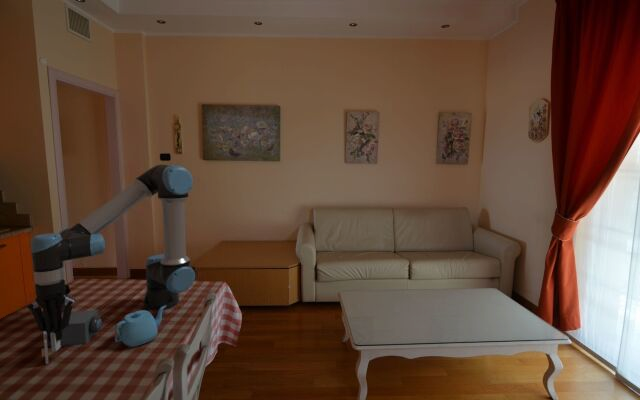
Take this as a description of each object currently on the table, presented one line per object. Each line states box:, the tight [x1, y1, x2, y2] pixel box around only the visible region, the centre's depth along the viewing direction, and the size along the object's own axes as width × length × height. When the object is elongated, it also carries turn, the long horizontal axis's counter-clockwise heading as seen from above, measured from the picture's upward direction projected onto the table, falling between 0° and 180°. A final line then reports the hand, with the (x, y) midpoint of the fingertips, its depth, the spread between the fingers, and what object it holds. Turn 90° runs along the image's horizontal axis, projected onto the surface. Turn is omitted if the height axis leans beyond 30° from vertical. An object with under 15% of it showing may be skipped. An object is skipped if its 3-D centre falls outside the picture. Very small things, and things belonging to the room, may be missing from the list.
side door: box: [41, 331, 49, 365], centre depth 108 cm, size 12×2×8 cm, turn 42°
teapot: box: [114, 305, 167, 348], centre depth 121 cm, size 13×11×18 cm
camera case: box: [47, 309, 103, 347], centre depth 120 cm, size 14×10×9 cm
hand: (56, 349), depth 107 cm, fingers closed
